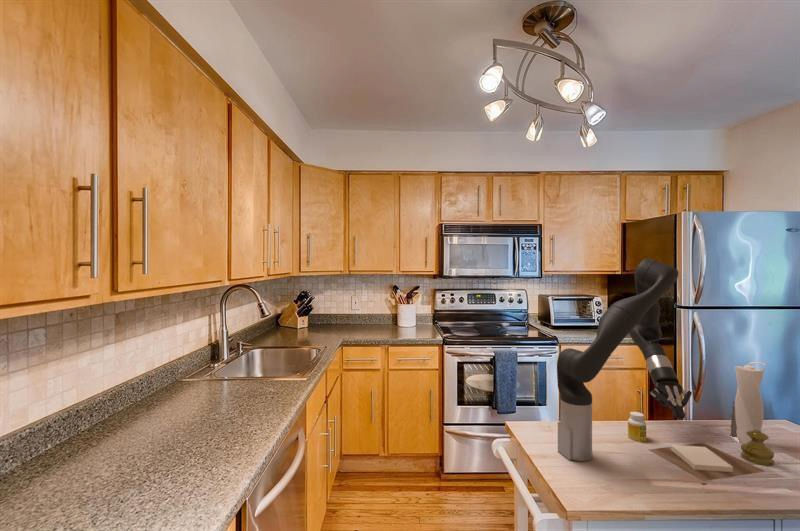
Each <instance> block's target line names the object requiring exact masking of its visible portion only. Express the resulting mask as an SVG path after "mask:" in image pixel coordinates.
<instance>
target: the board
mask: <svg viewBox="0 0 800 531" xmlns="http://www.w3.org/2000/svg"><path fill="white" fill-rule="evenodd" d="M680 446H698V447H706V448H707V449H709V450H710V451H712V452H713V453H714V454H716V455H717V456H718V457H720V458H721V459H723V460H724V461H725V462H727V463H728V464H729V465H731V466H732V467H733V472H723V471H707V470H694V469H693V468H692V467H691V466H690V465H688V464H687V463H686V462H685V461H684V460H683V459H681V458H680V457H679V456H678V455H677V454H676V453H674V452H673V451H672V450H671V446H666V447H665V446H664V447H658V448H650V449H648V451H650V452H652V453H653V454H655V455H656V456H658V457H661V458H662V459H664V460H666V461H667V462H669V463H671V464H673V465H675V466H677V467H678V468H680V469H682V470H683V471H685V472H687V473H689V474H691V475H692V476H694V477H696V478H698V479H699V480H701V481H704V482H705V481H710V480H718V479H725V478H731V477H737V476H744V475H749V474H750V475H751V474H757V473H763V472H764V473H765V470H764V469H762V468H759V467H757V466H755V465H754V464H751V463H750V462H749V463H748V461H746V460H745V461H744V460H742V459H740V458H738V457H736V456H735V455H734V456H733V455H732V454H729V453H727V452H724V451H723V450H721V449H718V448H716V447H715V446H712V445H710V444H708V443H705V442H698V443H689V444H681V445H680ZM700 484H701V485H703V486H707V485H708V483H702V482H701V483H700Z"/></svg>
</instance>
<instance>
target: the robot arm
mask: <svg viewBox="0 0 800 531" xmlns="http://www.w3.org/2000/svg"><path fill="white" fill-rule="evenodd" d="M678 278H679V270H678V268H676V267H673V265H669V264H666V263H664V262H661V261H658V260H655V259H652V258H644V259H643V260H641V261H640V262H639V263H638V266H637V267H636V269H635V273H634V283H635V284H634V285H635V292H636V295H633V296H629V297H626V298H623V299H620V300H617V301H615V302H614V303H612V304H611V305H610V306H609V307H608V308H607V309H606V311H605V312H604V313H603V314H602V315H601V317H600V318H599V320H598V325H597V332H596V337H595V338H594V340H593V342H591V344H590V345H589V346H588V347H587V348H586V349H585V350H584V351H582V350H578V349H576V348H571V347H570V348H569V347H568V348H565V349H562V351H561V352H560V353H559V354H558V356H557V361H556V379H557V389H558V392H559V395H560V396H559V397H560V410H559V411H560V413H559V414H560V415H559V416H560V421H558V422H557V452H558V453H560V454H561V455H562V456H563V457H565V458H567V460H568V461H579V462H587V461H591V460H592V459H593V395H592V392H591V391H590V390H589V389H588V388H587V387H586V385H585V384H586V383H587V384H588V383H589V382H591V381H593V380H594V379H595V378H596V377H597V375H598V374H599V373H600V372H601V370H602V368H603V367H604V366H605V364H606V363H607V361H608V360H609V358H610V357H611V355H612V354H613V353H614V351H615V350H616V349H617V348H618V347H619V346H620V344H621V343H622V342H623V340H624V339H625V338H626V337H627V336H628V335H629V336H630V338H631V340H632V341H633V342H634V343H635V345H636V346H637V348H638V349H639V350H640V351H641V353H642V356H643V357H644V360H645V363H646V367H647V370H648V373H649V376H650V378H651V380H652V383H653V385H654V386H653V387H654V389H652V390H651V391H650V392H649V396H651V397H652V398H653V399H655V401H656V402H658V403H660V404H661V405H662V406H663V407H665V408H667V407H668V408H670V409H671V411H672V415H673V417H674V418H676V420H677V421H678V420H679V421H680V420H681V421H682V420H684V419H685V417H686V413H685V411H684V409H683V408H685V407H686V406H687V404H688V403H689V400H690V398H691V396H692V394H693V393H692V391H691V390H686V389H684V387H683V386H682V385H681V384H680V383H679V379H678V376H677V374H676V371H675V370H674V367H673V365H672V363H671V361H670V360H669V358H668V356H667V352H666V351H665V348H664V347H663V345H661V344H660V343H657V342H658V341H659V340H660V339H662V336H663V333H662V329H661V327H660V322H659V321H660V314H661V308H660V304H659V302H658V301H659V300H660V299H661V298H662V297H663V296H664V295H665V294H666V293H667V292H668V291H669V290H670V289H671V288H672V287H673V286H674V284H675V283H676V282H677V279H678ZM584 383H585V384H584ZM681 395H682V400H681Z"/></svg>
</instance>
